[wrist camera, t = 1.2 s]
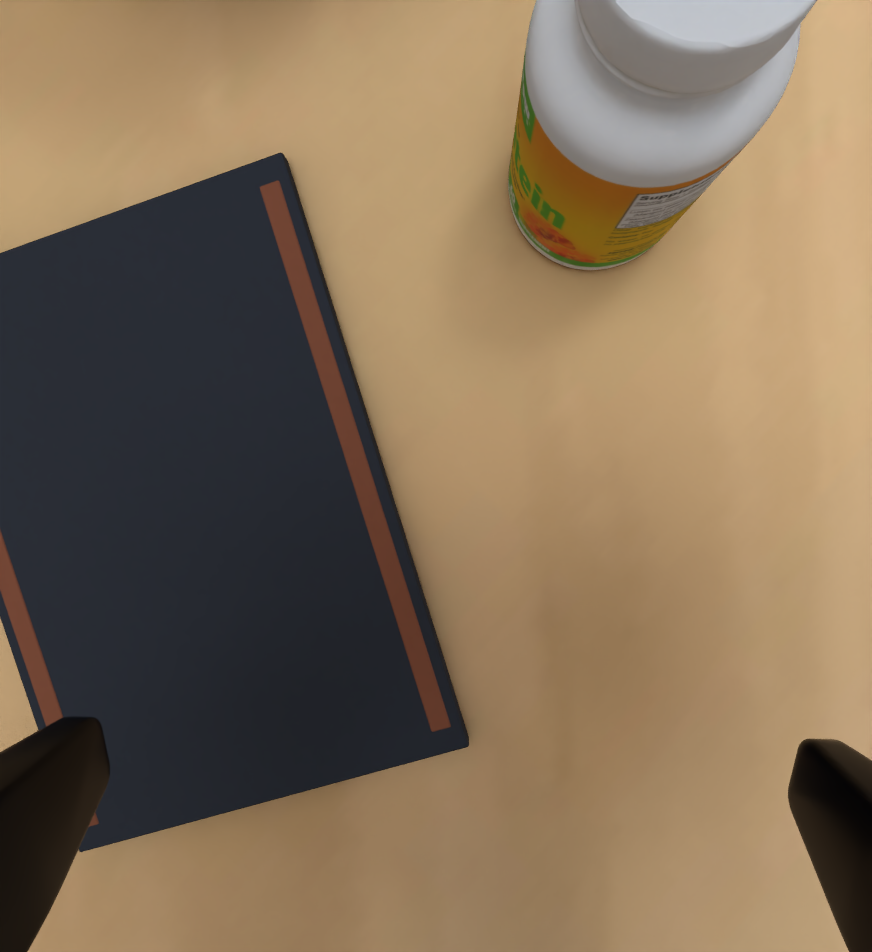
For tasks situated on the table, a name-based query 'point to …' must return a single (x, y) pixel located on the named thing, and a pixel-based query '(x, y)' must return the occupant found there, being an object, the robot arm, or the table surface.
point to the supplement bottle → (638, 115)
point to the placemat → (204, 512)
